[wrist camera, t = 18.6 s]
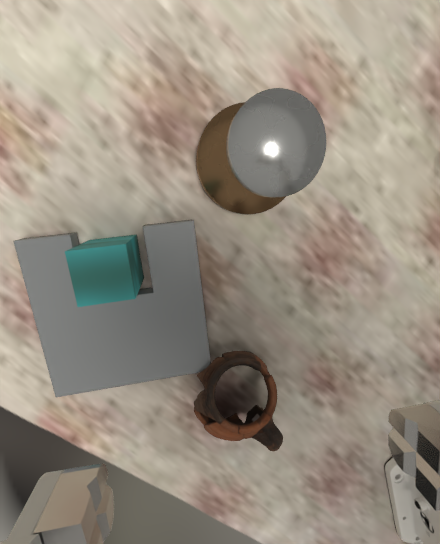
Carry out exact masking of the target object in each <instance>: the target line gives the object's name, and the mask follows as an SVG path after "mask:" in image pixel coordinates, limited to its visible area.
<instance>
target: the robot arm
mask: <svg viewBox="0 0 440 544" xmlns="http://www.w3.org/2000/svg"><path fill="white" fill-rule="evenodd" d="M389 423H390V424H391V425H392V426H393V429H392V430H391V432H390V433H389V434H388V445H389V448H390V451H391V454H392V456H393V458H392V459H391V460H389V461H388V463H387V464H386V466H385V472H386V478H387V483H388V488H389V494H390V499H391V504H392V509H393V515H394V520H395V525H396V530H397V534H398V536H399V537H400V538H401V540H402V541H404V542H407V543H411V544H440V400H437V401H432V402H427V403H423V404H418V405H413V406H408V407H403V408H398V409H392V410H391V411H390V413H389ZM107 478H108V472H107V468H106V465H105V464H96V465H91V466H84V467H77V468H71V469H65V470H62V471H55V472H48V473H45V474H44V475H43V476H42V477H40V479H39V481H38V482H37V484H36V486H35V488H34V490H33V492H32V493H31V495H30V497H29V499H28V501H27V503H26V505H25V507H24V509H23V510H22V512H21V514H20V516H19V518H18V520H17V521H16V523H15V525H14V527H13V529H12V531H11V533H10V535H9V537H8V539H7V540H5V541H0V544H104V542H103V541H104V540H105V539H106V537H107V536H108V535H109V533H110V532H111V527H112V523H113V514H114V498H113V492H112V488H111V487H109V486H108V485H107V484H106V482H107Z"/></svg>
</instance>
